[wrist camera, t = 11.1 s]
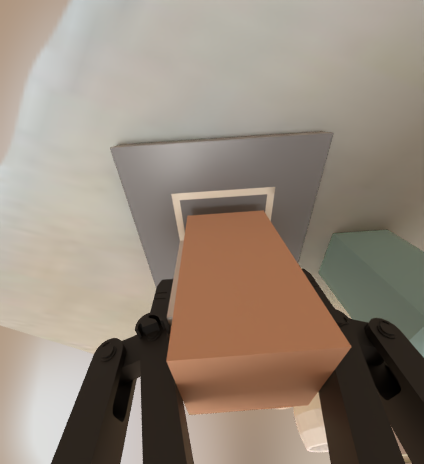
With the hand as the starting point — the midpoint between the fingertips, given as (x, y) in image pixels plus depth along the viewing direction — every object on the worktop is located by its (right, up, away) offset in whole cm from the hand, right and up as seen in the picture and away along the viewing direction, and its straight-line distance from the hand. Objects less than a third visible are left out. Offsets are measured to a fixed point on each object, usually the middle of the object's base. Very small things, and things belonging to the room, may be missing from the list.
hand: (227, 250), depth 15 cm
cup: (+23, -37, +30) cm, 53 cm away
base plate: (0, +2, +3) cm, 4 cm away
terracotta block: (0, +1, +1) cm, 1 cm away
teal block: (+15, -1, +6) cm, 16 cm away
